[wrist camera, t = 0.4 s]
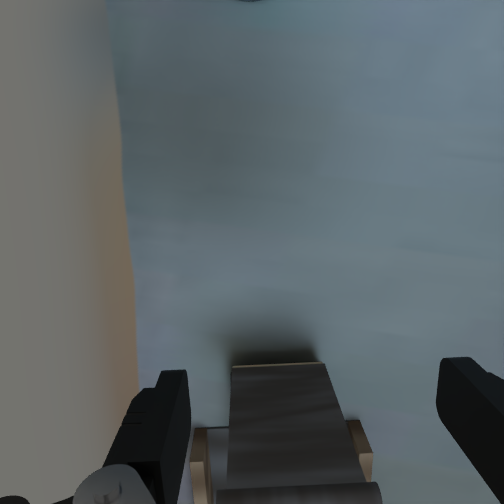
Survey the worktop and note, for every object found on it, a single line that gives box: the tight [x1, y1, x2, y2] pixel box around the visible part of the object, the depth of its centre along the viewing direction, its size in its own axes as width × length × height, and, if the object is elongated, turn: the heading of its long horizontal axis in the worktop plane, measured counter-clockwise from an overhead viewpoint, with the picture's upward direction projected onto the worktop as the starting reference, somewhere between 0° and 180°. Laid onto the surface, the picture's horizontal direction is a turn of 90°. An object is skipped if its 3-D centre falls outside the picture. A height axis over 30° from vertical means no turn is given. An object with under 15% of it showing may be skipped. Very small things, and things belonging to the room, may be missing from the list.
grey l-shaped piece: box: [216, 362, 382, 504], centre depth 28 cm, size 11×9×15 cm
